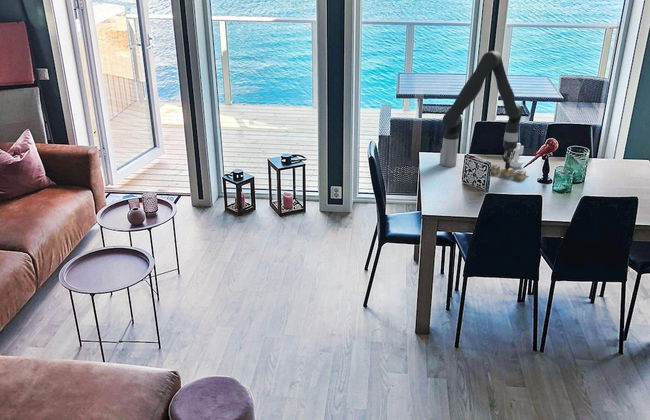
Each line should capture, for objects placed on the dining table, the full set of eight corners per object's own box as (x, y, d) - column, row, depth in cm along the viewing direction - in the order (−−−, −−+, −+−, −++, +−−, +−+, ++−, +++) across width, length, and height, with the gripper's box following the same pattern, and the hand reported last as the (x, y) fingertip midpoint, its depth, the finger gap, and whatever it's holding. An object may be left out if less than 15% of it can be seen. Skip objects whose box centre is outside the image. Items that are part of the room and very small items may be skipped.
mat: (483, 174, 360) (483, 174, 360) (494, 168, 370) (494, 168, 370) (519, 183, 347) (519, 182, 347) (529, 176, 357) (529, 176, 357)
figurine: (515, 163, 379) (518, 140, 373) (524, 168, 371) (528, 144, 365) (505, 165, 377) (508, 141, 371) (514, 169, 369) (517, 145, 363)
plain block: (500, 175, 358) (501, 168, 357) (504, 173, 362) (504, 166, 360) (508, 177, 355) (509, 170, 354) (512, 175, 359) (513, 168, 357)
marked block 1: (487, 172, 363) (488, 165, 361) (491, 170, 367) (492, 163, 365) (495, 174, 360) (496, 167, 358) (499, 172, 364) (500, 165, 362)
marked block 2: (513, 178, 354) (514, 171, 352) (517, 176, 357) (517, 169, 355) (521, 180, 351) (522, 173, 349) (525, 178, 354) (526, 170, 352)
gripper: (509, 135, 357) (506, 164, 364) (499, 140, 348) (496, 169, 354) (521, 138, 353) (518, 166, 359) (512, 143, 343) (508, 172, 350)
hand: (507, 168), depth 357 cm, fingers closed
